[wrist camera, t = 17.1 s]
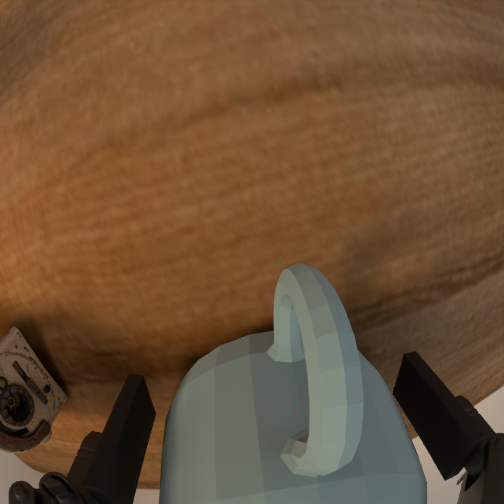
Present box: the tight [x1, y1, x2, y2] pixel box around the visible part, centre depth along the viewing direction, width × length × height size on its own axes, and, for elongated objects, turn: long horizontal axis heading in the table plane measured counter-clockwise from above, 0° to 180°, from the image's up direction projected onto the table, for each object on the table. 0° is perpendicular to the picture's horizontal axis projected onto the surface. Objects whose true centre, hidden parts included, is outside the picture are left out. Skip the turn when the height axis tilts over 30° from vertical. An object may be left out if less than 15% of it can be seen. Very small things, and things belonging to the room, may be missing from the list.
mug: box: [159, 263, 427, 504], centre depth 9 cm, size 15×11×10 cm
